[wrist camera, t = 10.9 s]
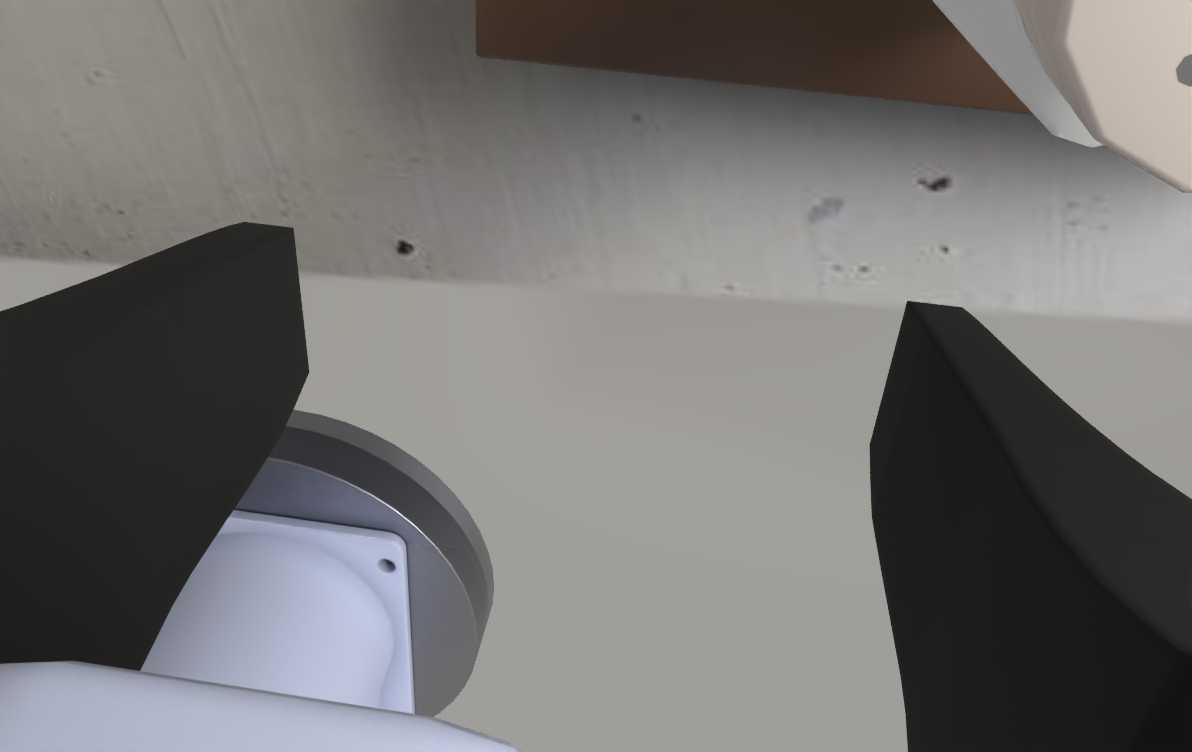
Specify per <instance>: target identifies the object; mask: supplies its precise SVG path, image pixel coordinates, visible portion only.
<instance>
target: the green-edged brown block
mask: <svg viewBox="0 0 1192 752" xmlns="http://www.w3.org/2000/svg"><path fill="white" fill-rule="evenodd" d="M476 53H477V56H479V57H483V58H492V59H502V60H511V61H521V62H531V63H540V64H550V65H559V66H569V67H579V68H588V69H598V70H607V71H617V72H627V73H636V74H646V75H655V76H665V77H675V78H684V79H694V80H703V81H713V82H723V83H732V84H742V85H752V86H761V87H771V88H780V89H790V90H800V91H809V92H819V93H828V94H838V95H848V96H857V97H867V98H876V99H886V100H896V101H905V102H915V103H924V104H934V105H944V106H953V107H963V108H973V109H982V110H992V111H1001V112H1011V113H1021V114H1030V115H1034V114H1033V113H1032V112H1031V111H1030V110H1029V109H1028V107H1027V106H1026V105H1025V104H1024V103H1023V102H1022V101H1021V100H1020V99H1019V98H1018V97H1017V95H1016V94H1015V93H1014V92H1013V91H1012V90H1011V89H1010V88H1009V87H1008V85H1007V84H1006V83H1005V82H1004V81H1003V80H1002V79H1001V78H1000V77H999V75H998V74H997V73H996V72H995V71H994V70H993V69H992V68H991V67H990V65H989V64H988V63H987V62H986V61H985V60H984V59H983V58H982V56H981V55H980V54H979V53H978V52H977V51H976V50H975V49H974V47H973V46H972V45H971V44H970V43H969V42H968V41H967V39H966V38H965V37H964V36H963V35H962V34H961V33H960V31H959V30H958V29H957V28H956V27H955V26H954V25H953V24H952V22H951V21H950V20H949V19H948V18H947V17H946V16H945V14H944V13H943V12H942V11H941V10H940V9H939V8H938V6H937V5H936V4H935V3H934V2H933V1H932V0H476Z"/></svg>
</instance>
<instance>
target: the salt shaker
mask: <svg viewBox="0 0 1192 752" xmlns="http://www.w3.org/2000/svg"><path fill="white" fill-rule="evenodd" d="M932 1H933V2H934V3H935V4H936V5H937V6H938V8H939V9H940V10H941V11H942V12H943V13H944V14H945V16H946V17H947V18H948V19H949V20H950V21H951V22H952V24H953V25H954V26H955V27H956V28H957V29H958V30H959V31H960V33H961V34H962V35H963V36H964V37H965V38H966V39H967V41H968V42H969V43H970V44H971V45H972V46H973V47H974V49H975V50H976V51H977V52H978V53H979V54H980V55H981V56H982V58H983V59H984V60H985V61H986V62H987V63H988V64H989V65H990V67H991V68H992V69H993V70H994V71H995V72H996V73H997V74H998V75H999V77H1000V78H1001V79H1002V80H1003V81H1004V82H1005V83H1006V84H1007V85H1008V87H1009V88H1010V89H1011V90H1012V91H1013V92H1014V93H1015V94H1016V95H1017V97H1018V98H1019V99H1020V100H1021V101H1022V102H1023V103H1024V104H1025V105H1026V106H1027V107H1028V109H1029V110H1030V111H1031V112H1032V113H1033V114H1034V115H1035V116H1036V117H1037V118H1038V119H1039V120H1040V122H1041V123H1042V124H1043V125H1044V126H1045V127H1046V128H1047V129H1048V130H1049V131H1050V132H1051V133H1052V135H1054V136H1057V137H1060V138H1063V139H1066V140H1069V141H1072V142H1075V143H1078V144H1081V145H1084V146H1088V147H1097V146H1101V145H1104V146H1106V147H1108V148H1109V149H1111V150H1113V151H1114V152H1116V153H1118V154H1119V155H1121V156H1123V157H1124V158H1126V159H1128V160H1129V161H1131V162H1133V163H1134V164H1136V165H1138V166H1139V167H1141V168H1143V169H1144V170H1146V171H1148V172H1149V173H1151V174H1153V175H1154V176H1156V177H1158V178H1159V179H1161V180H1163V181H1164V182H1166V183H1168V184H1169V185H1171V186H1173V187H1174V188H1176V189H1178V190H1179V191H1181V192H1192V0H932Z"/></svg>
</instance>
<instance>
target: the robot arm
mask: <svg viewBox="0 0 1192 752" xmlns="http://www.w3.org/2000/svg"><path fill="white" fill-rule="evenodd" d="M308 374H309V366H308V357H307V349H306V339H305V330H304V320H303V311H302V302H301V293H300V284H299V274H298V265H297V256H296V247H295V238H294V229H293V228H290V227H282V226H274V225H265V224H257V223H248V222H242V223H238V224H234V225H230V226H227V227H224V228H220V229H218V230H215V231H212V232H209V233H206V234H204V235H201V236H198V237H195V238H193V239H190V240H188V241H185V242H183V243H180V244H178V245H175V246H173V247H170V248H168V249H165V250H163V251H160V252H158V253H155V254H153V255H150V256H148V257H146V258H143V259H141V260H138V261H136V262H133V263H131V264H128V265H126V266H123V267H121V268H118V269H116V270H113V271H111V272H108V273H106V274H103V275H101V276H98V277H96V278H93V279H90V280H87V281H85V282H82V283H80V284H77V285H74V286H71V287H68V288H66V289H63V290H60V291H58V292H55V293H52V294H49V295H46V296H44V297H41V298H38V299H35V300H33V301H30V302H27V303H24V304H22V305H19V306H16V307H13V308H10V309H7V310H3V311H1V312H0V752H520V751H519V750H518V749H517V748H515V747H514V746H513V745H512V744H511V743H509V742H507V741H504V740H501V739H498V738H495V737H492V736H489V735H486V734H483V733H480V732H477V731H474V730H471V729H468V728H465V727H462V726H459V725H456V724H453V723H450V722H447V721H444V720H441V719H438V718H435V717H431V716H424V715H418V714H415V701H414V682H413V664H412V645H411V626H410V607H409V589H408V570H407V551H406V545H405V542H404V541H403V540H402V538H401V537H399V536H398V535H396V534H394V533H390V532H385V531H378V530H371V529H364V528H357V527H350V526H343V525H336V524H329V523H322V522H315V521H308V520H301V519H294V518H287V517H280V516H273V515H266V514H259V513H252V512H245V511H237V510H234V508H235V507H236V505H237V504H238V502H239V501H240V499H241V498H242V496H243V494H244V493H245V491H246V490H247V488H248V487H249V485H250V484H251V482H252V481H253V479H254V478H255V476H256V474H257V473H258V471H259V470H260V468H261V467H262V465H263V464H264V462H265V460H266V459H267V457H268V456H269V454H270V453H271V451H272V449H273V448H274V446H275V445H276V443H277V441H278V440H279V438H280V437H281V435H282V432H283V430H284V428H285V426H286V424H287V422H288V420H289V418H290V415H291V413H292V411H293V409H294V407H295V404H296V402H297V400H298V397H299V395H300V393H301V390H302V388H303V385H304V383H305V381H306V378H307V376H308ZM870 475H871V476H870V481H871V506H872V519H873V526H874V532H875V538H876V543H877V549H878V554H879V560H880V565H881V571H882V577H883V583H884V588H885V593H886V599H887V604H888V610H889V615H890V620H891V626H892V632H893V637H894V642H895V648H896V653H897V658H898V664H899V670H900V675H901V682H902V689H903V697H904V705H905V713H906V727H907V741H908V752H1192V499H1191V498H1189V497H1188V496H1186V495H1185V494H1183V493H1182V492H1180V491H1179V490H1177V489H1176V488H1174V487H1173V486H1171V485H1170V484H1169V483H1167V482H1166V481H1164V480H1163V479H1161V478H1160V477H1158V476H1157V475H1155V474H1154V473H1152V472H1151V471H1150V470H1148V469H1147V468H1145V467H1144V466H1143V465H1141V464H1140V463H1139V462H1137V461H1136V460H1135V459H1133V458H1132V457H1131V456H1129V455H1128V454H1126V453H1125V452H1124V451H1123V450H1122V449H1120V448H1119V447H1118V446H1117V445H1115V444H1114V443H1113V442H1112V441H1111V440H1109V439H1108V438H1107V437H1106V436H1104V435H1103V434H1102V433H1100V432H1099V431H1098V430H1097V429H1096V428H1095V427H1093V426H1092V425H1091V424H1090V423H1088V422H1087V421H1086V420H1085V419H1084V418H1082V417H1081V416H1080V415H1079V414H1078V413H1077V412H1076V411H1074V410H1073V409H1072V408H1071V407H1070V406H1069V405H1067V404H1066V403H1065V402H1064V401H1063V400H1062V399H1061V398H1060V397H1059V396H1057V395H1056V394H1055V393H1054V392H1053V391H1052V390H1051V389H1050V388H1048V387H1047V386H1046V385H1045V384H1044V383H1043V382H1042V381H1041V380H1040V379H1039V378H1038V377H1037V376H1036V375H1035V374H1034V373H1033V372H1031V371H1030V370H1029V369H1028V368H1027V367H1026V366H1025V365H1024V364H1023V363H1022V362H1021V361H1020V360H1019V359H1018V358H1017V357H1016V356H1015V355H1014V354H1013V353H1012V352H1011V351H1010V350H1008V349H1007V348H1006V347H1005V346H1004V345H1003V344H1002V343H1001V342H1000V341H999V340H998V339H997V338H996V337H995V336H994V335H993V334H992V333H991V332H990V331H989V330H988V329H987V328H985V327H984V326H983V325H982V324H981V323H980V322H979V321H978V320H977V319H976V318H975V317H973V316H972V315H971V314H970V313H969V312H967V311H966V310H965V309H964V308H962V307H954V306H945V305H937V304H928V303H920V302H912V301H907V304H906V308H905V312H904V316H903V320H902V324H901V327H900V331H899V335H898V339H897V342H896V346H895V350H894V354H893V358H892V362H891V366H890V369H889V373H888V377H887V381H886V385H885V388H884V393H883V397H882V400H881V404H880V408H879V411H878V415H877V419H876V423H875V427H874V431H873V435H872V438H871V442H870ZM384 559H387V560H390V561H391V562H393V563H389V562H386V561H385V560H384Z"/></svg>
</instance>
